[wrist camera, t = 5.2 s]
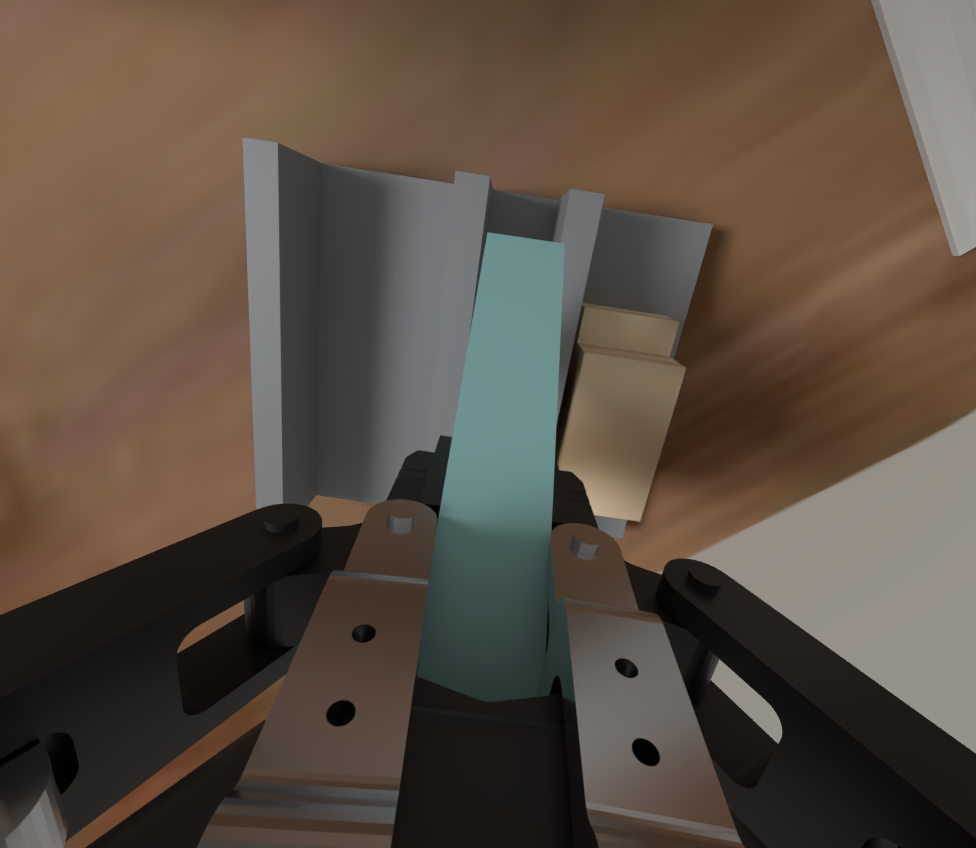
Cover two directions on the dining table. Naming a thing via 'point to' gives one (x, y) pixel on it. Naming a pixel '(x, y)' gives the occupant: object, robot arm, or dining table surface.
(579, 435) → the offcut top
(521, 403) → the teal slat
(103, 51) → the dining table surface
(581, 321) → the block
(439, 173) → the dining table surface
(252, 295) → the rack
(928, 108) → the baseboard molding
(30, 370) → the dining table surface
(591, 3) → the dining table surface
